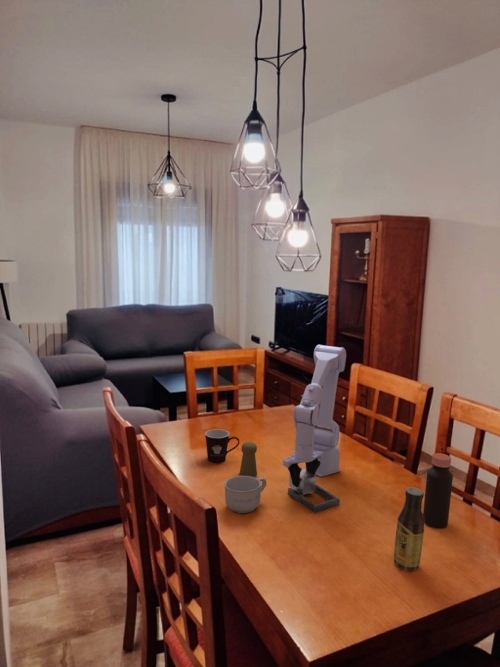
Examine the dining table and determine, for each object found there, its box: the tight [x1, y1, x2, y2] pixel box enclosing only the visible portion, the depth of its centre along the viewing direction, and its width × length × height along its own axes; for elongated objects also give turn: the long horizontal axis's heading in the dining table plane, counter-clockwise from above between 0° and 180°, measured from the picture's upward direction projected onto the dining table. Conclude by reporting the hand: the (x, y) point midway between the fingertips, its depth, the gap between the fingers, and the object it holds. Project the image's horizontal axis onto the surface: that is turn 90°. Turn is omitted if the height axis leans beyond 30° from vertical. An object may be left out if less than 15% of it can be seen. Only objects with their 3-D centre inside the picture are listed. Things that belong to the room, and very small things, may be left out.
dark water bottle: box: [422, 452, 454, 530], centre depth 137 cm, size 7×7×20 cm
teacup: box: [223, 475, 267, 514], centre depth 144 cm, size 14×11×8 cm
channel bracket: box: [287, 484, 341, 514], centre depth 149 cm, size 10×13×2 cm
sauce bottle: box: [393, 486, 425, 573], centre depth 117 cm, size 7×6×20 cm
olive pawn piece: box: [239, 441, 258, 478], centre depth 165 cm, size 6×6×11 cm
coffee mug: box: [204, 428, 240, 465], centre depth 175 cm, size 12×9×10 cm
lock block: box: [288, 467, 317, 496], centre depth 154 cm, size 5×7×5 cm
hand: (302, 483), depth 154 cm, fingers closed on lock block, 5 cm apart
